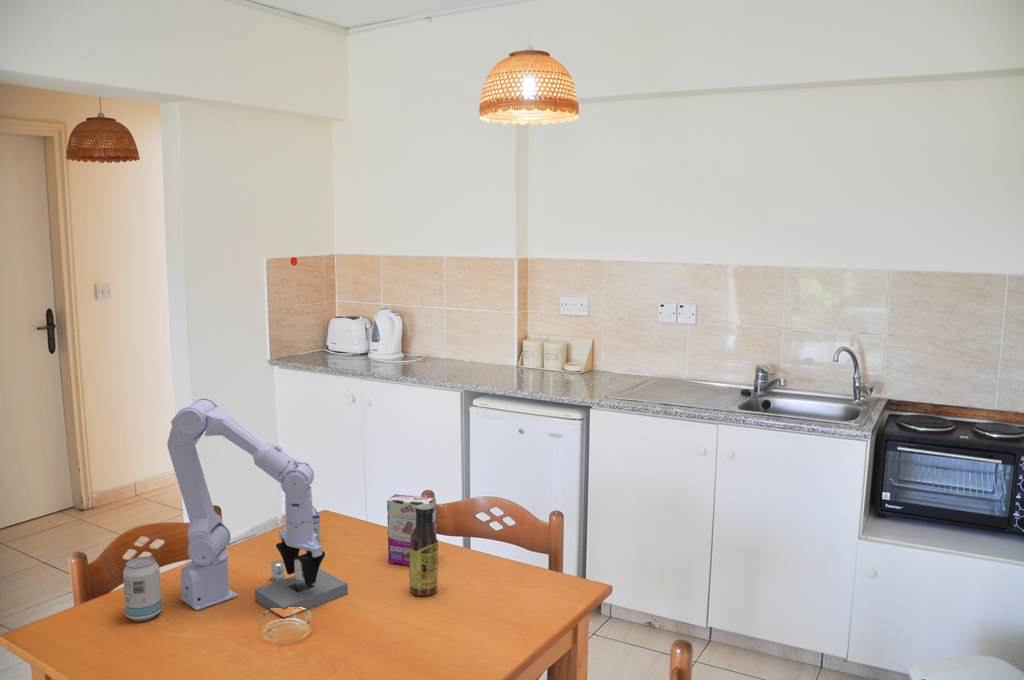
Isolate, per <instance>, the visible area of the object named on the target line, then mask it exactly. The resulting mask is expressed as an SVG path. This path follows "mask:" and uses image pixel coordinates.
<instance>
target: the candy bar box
mask: <svg viewBox="0 0 1024 680" xmlns="http://www.w3.org/2000/svg"><path fill="white" fill-rule="evenodd" d="M386 503H387V504H386V508H387V511H386V512H387V543H388V544H387V545H388V546H387V548H388V549H387V551H388V557H387V559H388V564H389V563H390V565H396V564H398V565H397V566H403V565H405V566H406V567H410V546H411V534H412V532H413V531H414V529H415V527H416V512H415V508H416V506H417V505H420V504H430V505H432V506H433V507H434V512H433V527H434V531H435V535H436V536H437V498H436V497H428V496H426V497H425V496H416V495H406V494H397V493H396V494H393V496H391V497H390V498H388V499H387V501H386Z"/></svg>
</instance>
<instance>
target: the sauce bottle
mask: <svg viewBox="0 0 1024 680" xmlns="http://www.w3.org/2000/svg"><path fill="white" fill-rule="evenodd" d="M415 512H416V527H415V529H414V531H413V532H412V534H411V546H410V566H409V586H410V588H409V591H410V593H411V594H413V595H414V596H416V597H417V596H418V597H425V596H427V597H428V596H431V595H433V594H434V593H435V592H436V591H437V588H438V573H439V571H438V567H439V566H438V565H439V562H438V561H439V559H438V558H439V553H438V552H439V540H438V538H437V534H436V535H435V531H434V527H433V512H434V507H433V506H432V505H430V504H420V505H417V506H416V508H415Z"/></svg>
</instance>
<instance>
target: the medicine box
mask: <svg viewBox="0 0 1024 680" xmlns="http://www.w3.org/2000/svg"><path fill="white" fill-rule="evenodd" d="M312 511H313V533H315V534H317V536H318V537H317V538H316V541H317V542H318V544H319V545H320V546H321V516H320V514H319V513H318V510H317V509H316V507H315V506H314V505H312Z"/></svg>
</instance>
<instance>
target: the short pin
mask: <svg viewBox="0 0 1024 680" xmlns="http://www.w3.org/2000/svg"><path fill="white" fill-rule="evenodd" d="M285 572H286V570H285V564H284V561H283V560H280V559H278V560H274V561H273V560H272V562H270V576H271V577H270V578H271V579H270V580H271V582H272V583H275V582H278V581H281V580H283V579H286V578H285V575H286V574H285Z"/></svg>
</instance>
